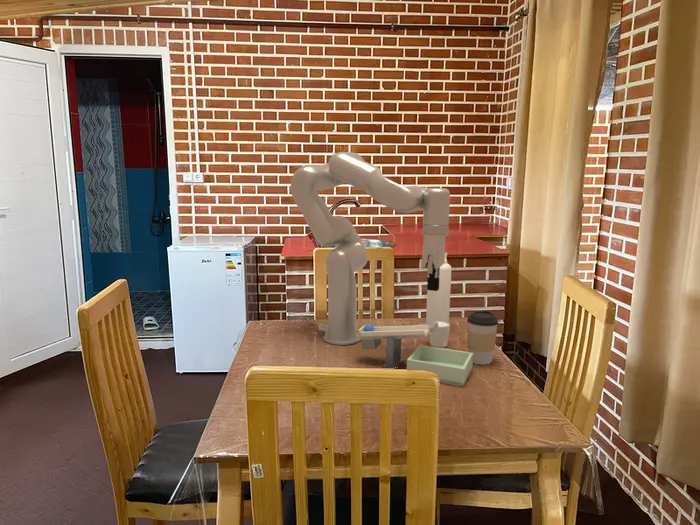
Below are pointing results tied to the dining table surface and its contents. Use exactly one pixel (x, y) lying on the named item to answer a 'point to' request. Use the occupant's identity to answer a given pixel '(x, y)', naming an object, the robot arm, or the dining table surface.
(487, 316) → the coffee cup
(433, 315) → the bottle
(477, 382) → the dining table surface
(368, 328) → the ball
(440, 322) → the shot glass
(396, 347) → the lever stand
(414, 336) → the lever
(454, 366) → the bin
